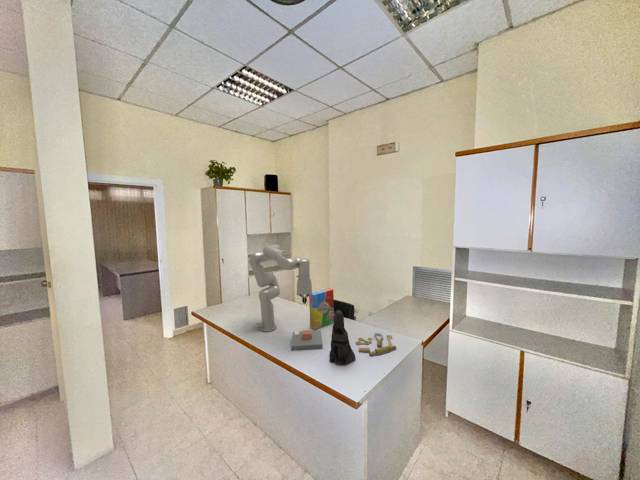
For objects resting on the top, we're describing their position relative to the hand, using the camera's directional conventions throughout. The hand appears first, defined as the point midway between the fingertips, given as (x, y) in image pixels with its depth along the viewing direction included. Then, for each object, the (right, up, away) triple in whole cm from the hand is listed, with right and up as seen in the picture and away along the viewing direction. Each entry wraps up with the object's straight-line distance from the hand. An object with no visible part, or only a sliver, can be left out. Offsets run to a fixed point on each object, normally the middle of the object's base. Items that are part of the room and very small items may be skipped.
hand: (304, 303), depth 173 cm
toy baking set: (+48, -26, -6) cm, 55 cm away
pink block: (+2, -26, 0) cm, 26 cm away
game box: (+12, -24, +25) cm, 37 cm away
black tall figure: (+23, -28, -22) cm, 42 cm away
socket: (+2, -26, 0) cm, 26 cm away
